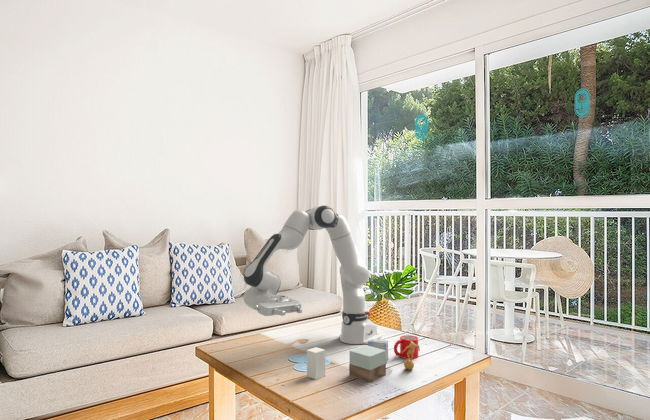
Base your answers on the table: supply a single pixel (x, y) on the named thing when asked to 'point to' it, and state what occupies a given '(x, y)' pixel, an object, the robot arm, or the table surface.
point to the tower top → (367, 357)
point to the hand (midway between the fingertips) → (292, 312)
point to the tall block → (316, 363)
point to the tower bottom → (367, 372)
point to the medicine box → (379, 345)
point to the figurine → (409, 363)
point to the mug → (404, 343)
